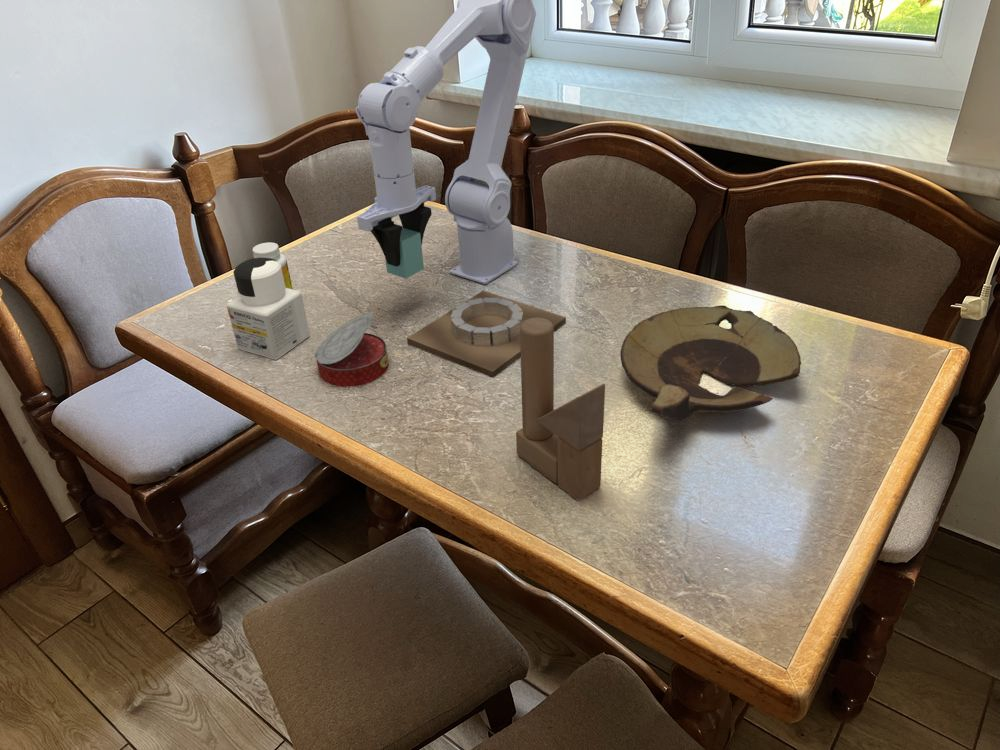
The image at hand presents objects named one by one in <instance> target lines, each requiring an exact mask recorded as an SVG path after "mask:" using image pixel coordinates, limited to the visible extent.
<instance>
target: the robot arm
mask: <svg viewBox="0 0 1000 750" xmlns="http://www.w3.org/2000/svg"><path fill="white" fill-rule="evenodd" d="M456 4H457V5H456V6H457V7H456V9H455V11H454V12H453V13H452V15H450V17H449V18H448V19H447V20H446V21H445V23H444V24H443V26H441V28H440V29H439V30H438V31H437V32H436V34H435V35H434V37H433V38H432V39H431V40H430V41H429V42H428V43H427V45H426V46H425V47H424V46H422V45H417V46H414V47H408V48H406V50H404V52H403V55H404V56H403V57H402V58H401V60H399V61H398V63H396V65H394V67H392V69H391V70H389V71H386V72H385V73H384V74H383V77H382V79H381V80H380V81H379V82H371V83H369V84H368V85H366V86H365V87H364V88H363V89H362V90H361V92H360V93H359V96H358V100H357V107H355V113H356V116H357V118H358V119H359V121H360V122H361V123H362V124H363V126H364V129H365V136H367V137H368V141H369V148H370V154H371V156H370V157H371V162H372V170H373V176H374V183H375V185H374V186H375V193H376V196H375V197H374V203H373V204H372V205H370V207H369V208H367V209H366V210H365V211H364V212H362V213H360V214H359V215H357V216H356V218H357V219H356V221H357V226H358V227H357V228H358V230H362V231H364V232H370V233H371V235H372V236H373V237H374V238H375V239H376V241H377V243H378V245H379V246H380V249H381V251H382V253H383V255H384V259H385V258H386V260H385V262H386V261H387V263H388V264H390V265H393V266H396V267H397V266H399V265H400V236H401V231H402V228H405V229H409V230H412V231H416V232H419V233H420V236H421V246H423V240H424V235H425V231H426V227H427V226H428V223H429V221H430V218H431V216H432V208H431V207H430V206H429V207H428V206H426V205H425V203H426V202H434V201H436V200H437V195H436V194H437V192H436V188H435V187H434V186H430V185H423V186H421V187H417V188H416V179H415V178H416V177H415V170H414V161H413V160H414V159H413V152H412V151H413V150H412V141H411V139H412V138H411V131H410V130H411V129H410V128H411V127H412V126H414V125H413V124H415V120H416V118H417V116H418V115H417V114H418V110H419V108H420V107H421V103H422V102H423V100H424V99H425V98H426V97H427V96H428V95H429V94H430V93H431V92H432V90H434V88H436V86H437V85H438V84H440V82H441V81H442V80H443V78H444V70H445V69H444V66H445V65H446V64H447V63H448V62H449V61H451V60H452V59H453V58H454V57H455V56H456V55H457V54H458V53H459V52H461V50H463V49H464V48H465V47H466V46H468V44H469V43H471V42H472V41H473V40H474V39H476V40H477V42H478V43H479V44H480V46H481V47H483V48H484V49H485V50H486V52H487V54H488V57H489V65H488V68H487V72H486V78H485V83H484V87H483V92H482V96H481V101H480V106H479V109H478V113H477V114H478V115H477V119H476V124H475V128H474V132H473V133H474V134H473V137H472V141H471V146H470V152H469V156H468V159H467V160H466V161H465V162H463V163H461V164H460V165H459V166H457V167H456V168H455V169H454V171H453V177H452V178H451V182H450V183H449V184H448V186H447V188H446V191H445V195H444V196H445V197H444V203H445V208H446V209H447V211H448V212H449V214H451V215H452V216H453V221H454V222H455V223H456V225H457V226H456V227H457V239H458V240H457V241H458V253H459V256H458V257H459V264H458V265H457V266H455V267H453V268H452V269H449V274H452V275H455V276H458V277H460V278H465V279H467V280H471V281H473V282H476V283H479V284H483V285H486V284H489V282H492V281H493V280H494V279H496V278H498V277H499V276H501V275H502V274H504V273H506V272H507V271H509V270H510V269H513V268H514V267H516V266H517V265H519V264H518V263H519V262H518V261H517V260H515V258H514V257H515V256H514V254H515V253H514V232H513V231H514V230H513V226H512V223H511V222H510V220H509V218H508V215H509V212H510V209H511V195H510V193H511V189H512V188H511V187H512V184H513V183H512V181H511V180H510V178H509V177H508V175H507V174H506V173H505V171H504V170H503V168H502V163H503V159H504V157H505V156H504V155H505V152H506V147H507V144H508V143H507V142H508V138H509V134H510V130H511V127H512V121H513V117H514V112H515V109H516V108H515V107H516V104H517V99H518V95H519V91H520V87H521V83H522V78H523V73H524V69H525V65H526V61H527V55H528V51H529V47H530V43H531V38H532V33H533V30H534V27H535V26H534V25H535V20H536V16H537V12H536V9H535V6H534V4H533V0H457V3H456ZM477 180H479V181H483V182H485V183H486V184H485V183H481V182H478V181H477ZM395 217H399V220H400V223H401V225H400V224H397V223H395V221H394V220H392V219H393V218H395Z"/></svg>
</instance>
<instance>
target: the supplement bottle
mask: <svg viewBox="0 0 1000 750" xmlns="http://www.w3.org/2000/svg"><path fill="white" fill-rule="evenodd" d="M252 254H253V258H271V259H275V260H276V261H278V262H279V263H280V264H281V268H282V273H283V278H284V282H285V287H286V288H289V289H293V284H292V279H291V274H290V269H289V265H288V261H287V257H286V256H285V255H284V254H282V253H281V251H280V247H279V245H278V244H277V243H275V242H262V243H259V244H256V245H255V246H253V247H252ZM293 290H294V289H293Z"/></svg>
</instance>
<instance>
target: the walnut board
mask: <svg viewBox="0 0 1000 750" xmlns="http://www.w3.org/2000/svg"><path fill="white" fill-rule="evenodd" d="M478 298H482V299H484V298H500V299H505V300H508V301H511V302H514V303H515V304H517V305H518V306H519V307H520V308H521V309H522V310H523V322H524V321H525V320H527V319H530V318H544V319H547V320H549V321H550V322H552V324H553V326H554V333H555V332H556V331H558V330H560V328H561V327H563V326H564V325H565V324H566V323H567V320H566V319H567V317H566V316H563V315H559V314H557V313H555V312H554V313H553V312H551V311H548V310H546V309H545V310H544V309H542V308H538V307H535V306H532V305H529V304H526V303H523V302H519V301H517V300H513V299H512V298H511V299H510V298H508V297H504V296H502V295H499V294H495V293H494V292H493V293H492V292H489V291H487V290H485V289H484V290H482V291H480V292H478V293H477V294H475V295H474V296H472V297H470V298H469V299H467V300H465V301H464V302H466V303H467V301H470V300H474V299H478ZM461 304H462V303H461ZM461 304H459V305H461ZM453 310H455V309H454V308H452V309H451V310H450V311H448V312H446V313H444V314H443V315H441V316H439V317H438V318H436V319H435V320H434V321H432V322H430V323H429V324H427V325H425V326H424V327H422V328H420V329H419V330H417V331H415V332H414V333H413V334H411V335H410V336H408V337H406V342H407V345H410V346H412V347H414V348H418V349H420V350H421V351H425V352H427V353H429V354H432V355H435V356H437V357H440V358H442V359H444V360H447V361H449V362H450V361H451V362H452V363H455V364H457V365H460V366H463V367H464V368H468V369H469V370H473V371H475V372H478V373H480V374H482V375H485V376H487V377H490V378H493V379H494V378H495V377H496V376H497V375H499V374H500V373H502V372H503V371H504V370H505V369H507V368H508V367H510V366H511V365H512V364H513V363H515V362H516V361H518V360H520V359H521V351H520V335H519V336H517V337H516V338H515V339H513V340H512V341H509V342H507V343H503V344H499V345H495V346H493V345H492V344H491V346H474V344H472V345H470V344H467V343H464V342H462V341H459V339H457V338H456V337H455V336H454V334H453V333H452V330H451V319H450V317H451V314H452V312H453ZM507 321H509V320H508V319H507V318H504V317H501V316H498V315H482V316H478V317H474V318H471V319H470V320H468V321H467V322H465V323H466V324H469V325H472V326H474V327H486V328H490V327H495V326H499V325H503V324H504V323H506V322H507Z"/></svg>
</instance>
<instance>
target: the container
mask: <svg viewBox="0 0 1000 750" xmlns="http://www.w3.org/2000/svg"><path fill="white" fill-rule="evenodd" d="M233 277H234V281H235V285H236V288H237V293H238V296H237V297H235V298H233V299H232V300H230V301H228V303H227V304H226V308H227V312H228V317H229V320H230V323H231V327H232V331H233V335H234V338H235V342H236V346H237V349H238V350H241V351H245V352H247V353H252V354H255V355H259V356H262V357H266V358H269V359H273V360H276V361H277V360H279V359H280V358H281V357H283V356H285V354H287V353H288V352H290V351H292V349H294V348H296V347H297V346H298V345H299V344H301V343H302V342H304V341H305V340H306V339H308V338H309V337H310V336H311V335H310V330H309V329H310V328H309V324H308V319H307V314H306V310H305V303H304V299H303V298H304V297H303V295H302V292H301V290H298V289H289V288H286V287H285V282H284V278H283V273H282V268H281V264H280V263H279V262H278V261H276V260H275V259H271V258H254V257H253V258H250V259H247V260H244V261H242V262H241V263H238V265H236V267H235V268H234V270H233Z"/></svg>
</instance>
